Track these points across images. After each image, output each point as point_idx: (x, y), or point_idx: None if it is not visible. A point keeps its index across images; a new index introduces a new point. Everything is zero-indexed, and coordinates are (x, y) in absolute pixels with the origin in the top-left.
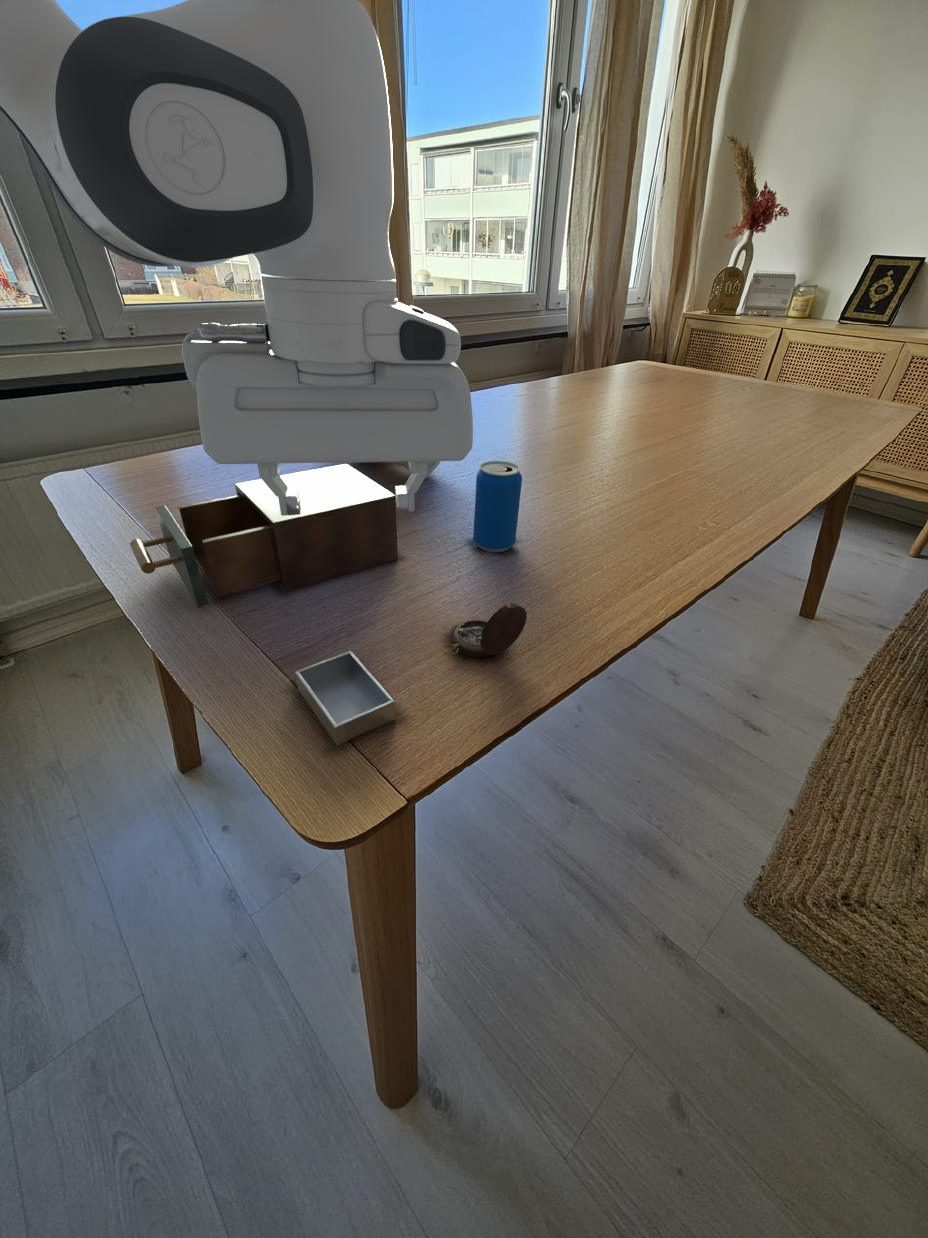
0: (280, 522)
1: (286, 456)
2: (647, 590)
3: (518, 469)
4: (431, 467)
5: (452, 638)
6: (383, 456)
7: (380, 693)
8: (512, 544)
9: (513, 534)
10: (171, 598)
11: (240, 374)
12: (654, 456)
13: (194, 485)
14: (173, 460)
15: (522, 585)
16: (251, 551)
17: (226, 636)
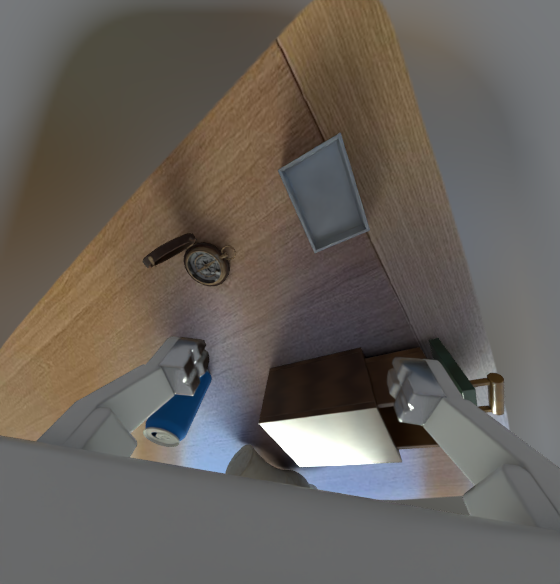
0: (369, 407)
1: (542, 573)
2: (80, 303)
3: (145, 433)
4: (240, 452)
5: (226, 266)
6: (124, 485)
7: (291, 191)
8: None
9: None
10: (454, 355)
11: None
12: None
13: (413, 466)
14: (424, 490)
15: (174, 324)
16: None
17: (417, 303)
